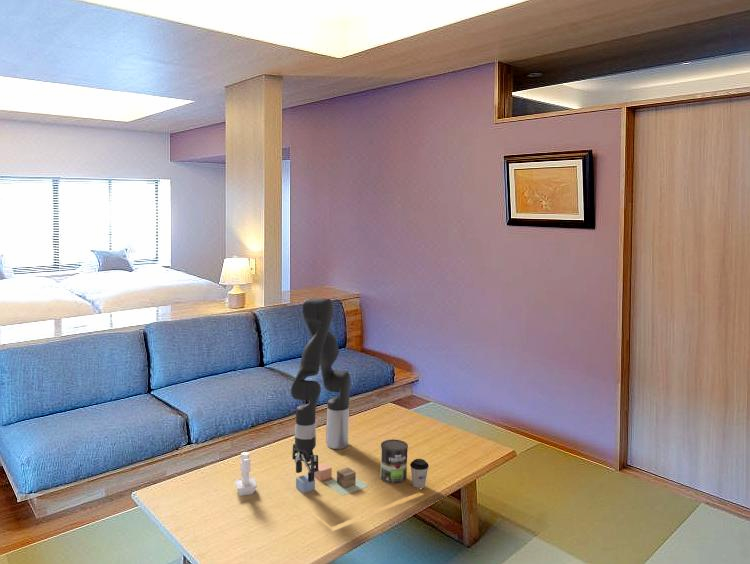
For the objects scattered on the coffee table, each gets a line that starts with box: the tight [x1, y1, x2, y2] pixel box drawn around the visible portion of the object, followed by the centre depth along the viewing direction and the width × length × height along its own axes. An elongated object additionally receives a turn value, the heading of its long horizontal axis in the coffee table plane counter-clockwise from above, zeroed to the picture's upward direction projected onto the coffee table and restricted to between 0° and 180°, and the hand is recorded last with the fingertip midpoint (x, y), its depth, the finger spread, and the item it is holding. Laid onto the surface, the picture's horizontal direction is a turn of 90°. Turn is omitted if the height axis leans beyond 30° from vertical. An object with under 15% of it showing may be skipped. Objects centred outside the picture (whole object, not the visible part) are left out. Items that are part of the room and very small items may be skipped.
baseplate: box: [323, 477, 369, 496], centre depth 214 cm, size 12×12×1 cm
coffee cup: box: [409, 458, 429, 490], centre depth 215 cm, size 7×7×10 cm
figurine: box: [233, 451, 258, 497], centre depth 208 cm, size 7×9×15 cm
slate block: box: [295, 473, 316, 494], centre depth 210 cm, size 5×5×5 cm
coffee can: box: [379, 439, 409, 485], centre depth 220 cm, size 10×10×14 cm
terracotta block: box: [314, 462, 333, 482], centre depth 219 cm, size 5×5×5 cm
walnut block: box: [336, 466, 357, 489], centre depth 214 cm, size 5×5×5 cm
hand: (304, 476), depth 209 cm, fingers open, 8 cm apart
